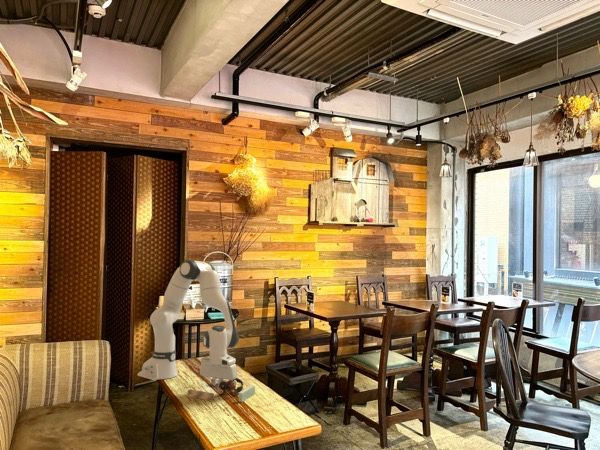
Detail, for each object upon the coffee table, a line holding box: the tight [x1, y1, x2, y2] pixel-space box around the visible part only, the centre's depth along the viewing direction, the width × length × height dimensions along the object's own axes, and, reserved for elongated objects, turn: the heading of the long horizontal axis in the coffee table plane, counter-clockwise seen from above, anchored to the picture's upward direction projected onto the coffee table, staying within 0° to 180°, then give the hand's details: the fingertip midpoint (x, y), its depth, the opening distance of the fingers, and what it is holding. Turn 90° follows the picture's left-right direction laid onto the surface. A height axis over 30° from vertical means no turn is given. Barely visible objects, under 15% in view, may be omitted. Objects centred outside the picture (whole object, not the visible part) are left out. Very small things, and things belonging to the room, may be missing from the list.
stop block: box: [238, 385, 256, 403], centre depth 222 cm, size 2×12×4 cm, turn 156°
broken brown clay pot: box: [218, 377, 244, 396], centre depth 228 cm, size 12×10×8 cm
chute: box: [187, 377, 237, 402], centre depth 230 cm, size 14×22×3 cm, turn 156°
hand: (217, 386), depth 229 cm, fingers closed
